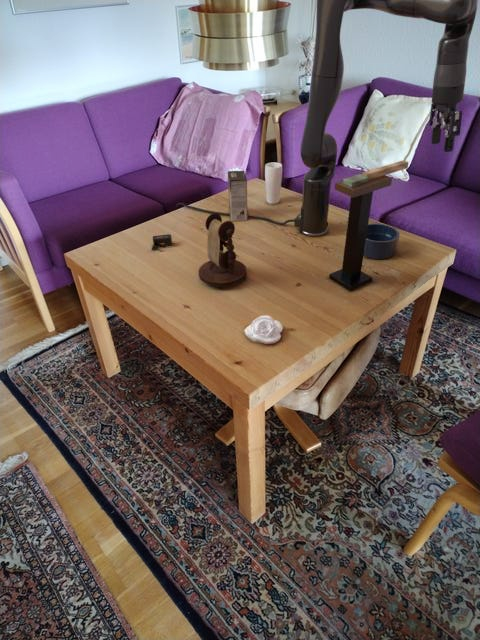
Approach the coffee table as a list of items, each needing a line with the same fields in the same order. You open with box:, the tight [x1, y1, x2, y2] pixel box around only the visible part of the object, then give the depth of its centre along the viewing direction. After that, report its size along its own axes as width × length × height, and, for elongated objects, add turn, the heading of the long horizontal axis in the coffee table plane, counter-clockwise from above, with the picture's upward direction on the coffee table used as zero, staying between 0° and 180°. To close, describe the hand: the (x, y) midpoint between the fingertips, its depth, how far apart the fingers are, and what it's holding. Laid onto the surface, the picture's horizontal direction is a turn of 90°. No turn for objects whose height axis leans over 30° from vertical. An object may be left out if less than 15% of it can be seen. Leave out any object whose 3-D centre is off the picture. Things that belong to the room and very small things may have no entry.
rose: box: [244, 315, 283, 345], centre depth 122 cm, size 10×4×10 cm
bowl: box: [363, 223, 400, 260], centre depth 156 cm, size 13×13×6 cm
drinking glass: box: [264, 162, 283, 205], centre depth 187 cm, size 7×7×15 cm
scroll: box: [198, 213, 248, 290], centre depth 140 cm, size 15×15×20 cm
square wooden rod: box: [342, 160, 409, 187], centre depth 126 cm, size 22×3×2 cm, turn 124°
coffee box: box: [227, 170, 248, 222], centre depth 177 cm, size 9×6×16 cm
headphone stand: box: [328, 173, 393, 292], centre depth 134 cm, size 14×9×31 cm, turn 124°
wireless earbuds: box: [151, 233, 173, 251], centre depth 162 cm, size 5×7×3 cm, turn 101°
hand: (441, 147), depth 130 cm, fingers open, 8 cm apart
